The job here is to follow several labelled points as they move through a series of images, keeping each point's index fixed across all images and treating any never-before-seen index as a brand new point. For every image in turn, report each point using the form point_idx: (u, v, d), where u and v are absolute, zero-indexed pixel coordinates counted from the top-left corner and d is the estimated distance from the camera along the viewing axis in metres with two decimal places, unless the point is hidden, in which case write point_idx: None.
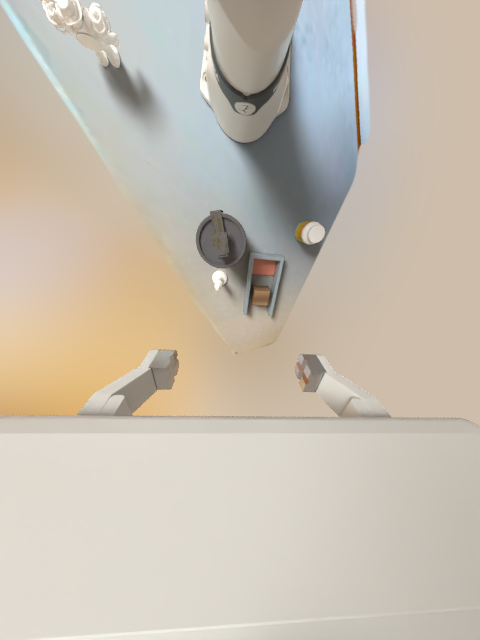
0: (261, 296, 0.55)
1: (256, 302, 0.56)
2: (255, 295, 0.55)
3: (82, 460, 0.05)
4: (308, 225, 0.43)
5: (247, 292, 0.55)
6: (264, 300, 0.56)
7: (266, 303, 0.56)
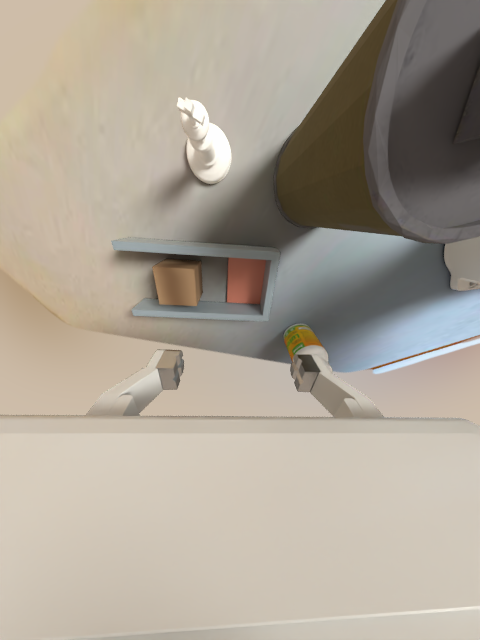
0: (180, 287, 0.22)
1: (161, 276, 0.21)
2: (180, 272, 0.21)
3: (82, 460, 0.05)
4: (326, 354, 0.25)
5: (183, 248, 0.20)
6: (172, 295, 0.22)
7: (164, 301, 0.23)
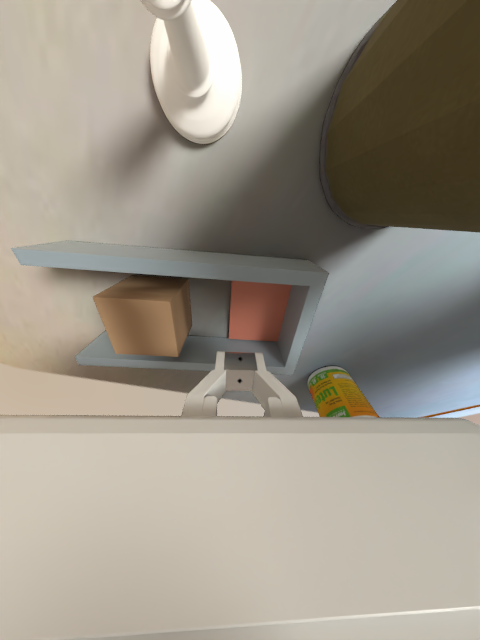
0: (148, 330, 0.12)
1: (111, 312, 0.12)
2: (145, 306, 0.11)
3: (82, 460, 0.05)
4: None
5: (150, 264, 0.11)
6: (135, 342, 0.13)
7: (123, 349, 0.13)
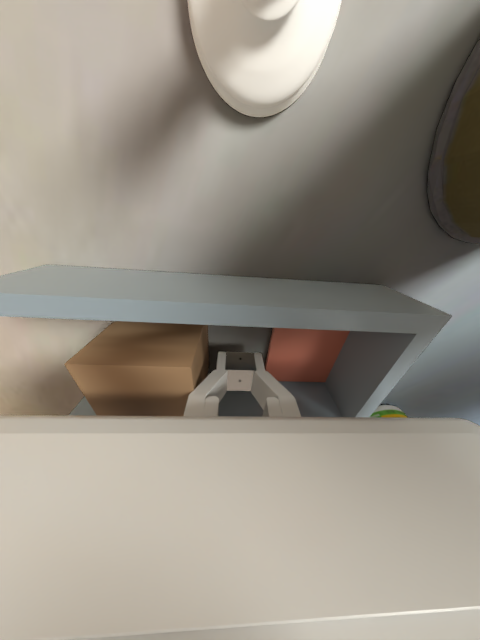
0: (155, 402, 0.08)
1: (96, 383, 0.07)
2: (151, 373, 0.07)
3: (82, 460, 0.05)
4: None
5: (177, 309, 0.07)
6: None
7: None
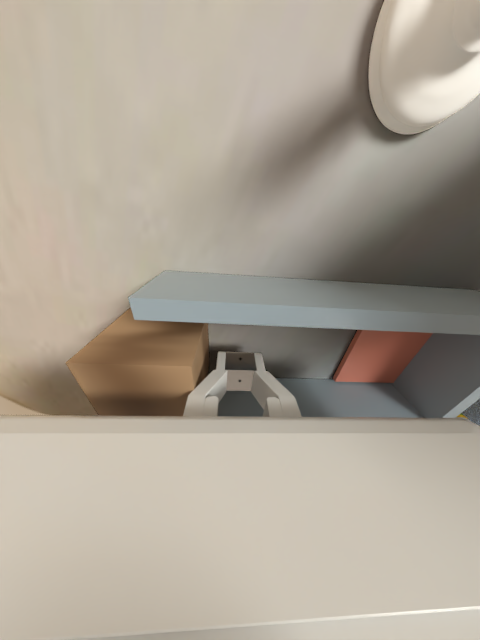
0: (155, 401, 0.08)
1: (97, 382, 0.07)
2: (151, 372, 0.07)
3: (82, 460, 0.05)
4: None
5: (330, 315, 0.07)
6: (136, 415, 0.09)
7: None
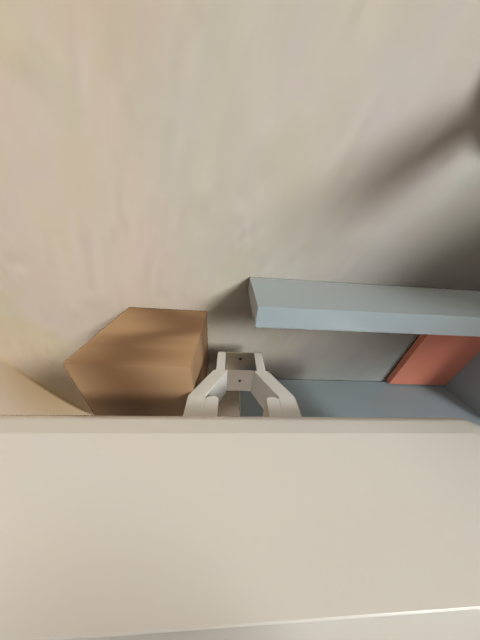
0: (154, 402, 0.08)
1: (95, 383, 0.07)
2: (150, 373, 0.07)
3: (82, 460, 0.05)
4: None
5: (440, 322, 0.07)
6: None
7: None
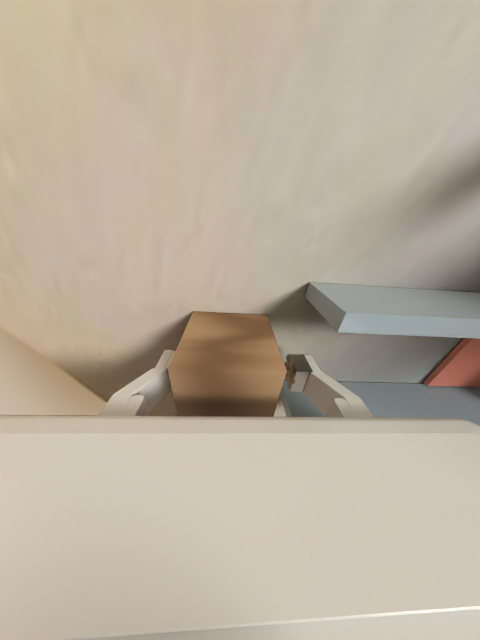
0: (238, 405, 0.08)
1: (190, 386, 0.08)
2: (246, 377, 0.07)
3: (82, 460, 0.05)
4: None
5: None
6: None
7: None
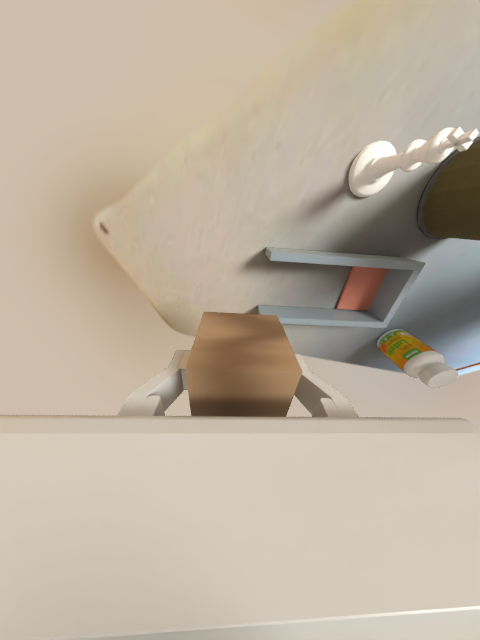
0: (252, 405, 0.08)
1: (206, 386, 0.08)
2: (261, 377, 0.07)
3: (82, 460, 0.05)
4: (443, 359, 0.26)
5: (336, 259, 0.21)
6: None
7: None
